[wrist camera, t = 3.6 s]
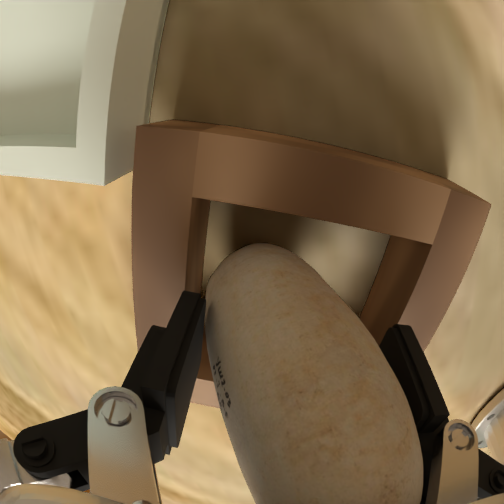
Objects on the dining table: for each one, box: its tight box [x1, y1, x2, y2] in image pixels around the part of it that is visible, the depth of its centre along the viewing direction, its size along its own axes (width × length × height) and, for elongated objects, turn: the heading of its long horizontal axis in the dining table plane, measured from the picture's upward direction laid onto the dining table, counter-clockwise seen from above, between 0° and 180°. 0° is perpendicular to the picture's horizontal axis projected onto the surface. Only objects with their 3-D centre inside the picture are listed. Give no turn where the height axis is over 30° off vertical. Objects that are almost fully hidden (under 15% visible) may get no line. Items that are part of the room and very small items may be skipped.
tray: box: [0, 0, 169, 186], centre depth 7 cm, size 16×16×4 cm
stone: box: [205, 243, 423, 504], centre depth 9 cm, size 6×6×12 cm
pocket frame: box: [132, 120, 491, 408], centre depth 13 cm, size 12×12×4 cm
